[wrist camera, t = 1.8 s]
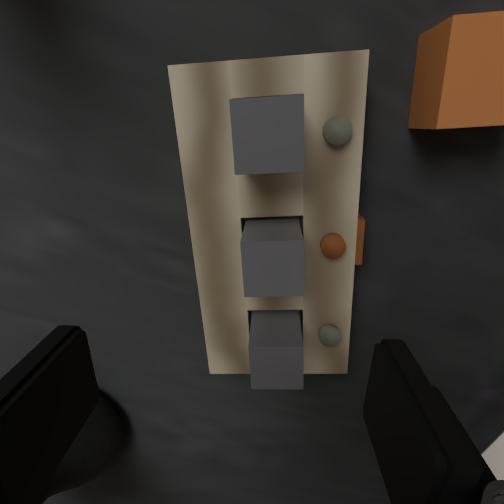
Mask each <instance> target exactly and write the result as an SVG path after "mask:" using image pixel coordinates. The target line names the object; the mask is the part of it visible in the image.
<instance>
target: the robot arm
mask: <svg viewBox="0 0 504 504" xmlns="http://www.w3.org/2000/svg"><path fill="white" fill-rule="evenodd" d="M98 399H99V391H98V386H97V382H96V377H95V373H94V368H93V363H92V359H91V354H90V350H89V345H88V340H87V336H86V333H85V331H82V330H81V328H80V327H79V326H69V325H60V326H58V327H56V328H55V329H54V330H53V331H52V332H51V333H50V334H49V335H48V336H47V337H46V338H44V339H43V340H42V341H41V342H40V343H39V344H38V345H37V346H36V347H35V348H34V349H33V350H32V351H30V352H29V353H28V354H27V355H26V356H25V357H24V358H23V359H22V360H21V361H20V362H19V363H18V364H17V365H15V366H14V367H13V368H12V369H11V370H10V371H9V372H8V373H7V374H6V375H5V376H4V377H3V378H2V379H0V504H35V502H36V500H37V499H38V497H39V496H40V494H41V492H42V491H43V489H44V488H45V486H46V484H47V483H48V481H49V480H50V478H51V477H52V475H53V473H54V472H55V470H56V469H57V467H58V465H59V464H60V462H61V461H62V459H63V457H64V456H65V454H66V453H67V451H68V449H69V448H70V446H71V445H72V443H73V441H74V440H75V438H76V437H77V435H78V434H79V432H80V430H81V429H82V427H83V426H84V424H85V422H86V421H87V419H88V418H89V416H90V414H91V413H92V411H93V410H94V408H95V406H96V405H97V402H98ZM363 415H364V420H365V423H366V426H367V429H368V432H369V436H370V439H371V442H372V445H373V448H374V451H375V454H376V457H377V460H378V464H379V467H380V470H381V473H382V476H383V479H384V482H385V485H386V488H387V492H388V495H389V498H390V501H391V504H504V480H497V479H496V478H495V476H494V475H493V473H492V472H491V470H490V468H489V467H488V465H487V464H486V462H485V461H484V459H483V457H482V456H481V454H480V453H479V451H478V450H477V448H476V447H475V445H474V443H473V442H472V440H471V439H470V437H469V436H468V434H467V433H466V431H465V429H464V428H463V426H462V425H461V423H460V422H459V420H458V419H457V417H456V415H455V414H454V412H453V411H452V409H451V408H450V406H449V405H448V403H447V401H446V400H445V398H444V397H443V395H442V394H441V392H440V391H439V390H438V389H437V388H436V387H435V386H431V384H430V382H429V381H428V379H427V378H426V376H425V374H424V373H423V371H422V370H421V368H420V366H419V365H418V363H417V362H416V360H415V358H414V357H413V355H412V354H411V352H410V350H409V349H408V347H407V346H406V344H405V342H404V341H403V340H395V339H383V340H382V341H381V343H380V344H376V345H375V348H374V353H373V359H372V364H371V369H370V375H369V380H368V385H367V390H366V396H365V401H364V406H363Z"/></svg>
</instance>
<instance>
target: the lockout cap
mask: <svg viewBox="0 0 504 504" xmlns="http://www.w3.org/2000/svg"><path fill="white" fill-rule="evenodd" d="M498 125H504V11H496V12H485V13H473V14H461V15H453V16H451V17H449V18H448V19H446V20H445V21H443V22H441V23H440V24H438V25H436V26H435V27H433V28H431V29H430V30H428V31H426V32H425V33H423V34H421V35H420V36H419V38H418V47H417V55H416V64H415V73H414V81H413V90H412V98H411V107H410V115H409V124H408V128H412V129H448V128H465V127H482V126H498Z"/></svg>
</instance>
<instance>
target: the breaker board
mask: <svg viewBox="0 0 504 504" xmlns="http://www.w3.org/2000/svg"><path fill="white" fill-rule="evenodd" d="M368 61H369V49H368V50H355V51H343V52H330V53H318V54H305V55H293V56H281V57H268V58H256V59H243V60H231V61H218V62H206V63H193V64H181V65H168V73H169V80H170V87H171V95H172V102H173V109H174V116H175V124H176V131H177V138H178V145H179V153H180V160H181V167H182V174H183V182H184V189H185V196H186V203H187V211H188V218H189V225H190V232H191V240H192V247H193V254H194V261H195V269H196V276H197V283H198V290H199V298H200V305H201V312H202V319H203V327H204V334H205V341H206V348H207V356H208V363H209V370H210V374H250V364H249V351H248V344H249V335H250V327H251V318H252V310H298V311H299V318H300V325H301V333H302V340H303V374H347V370H348V355H349V340H350V326H351V311H352V296H353V282H354V267H355V265H362V255H363V242H364V229H365V219H364V218H363V217H362V216H361V215H360V214H359V213H358V208H359V193H360V179H361V164H362V149H363V135H364V120H365V105H366V91H367V76H368ZM299 94H304V172H285V173H266V174H246V175H235V171H234V158H233V145H232V132H231V119H230V106H229V99H242V98H256V97H271V96H285V95H299ZM285 218H298V220H299V224H300V228H301V232H302V235H303V239H304V296H283V297H244V287H243V274H242V261H241V248H240V241H241V237H242V233H243V230H244V226H245V223H246V220H260V219H285Z"/></svg>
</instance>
